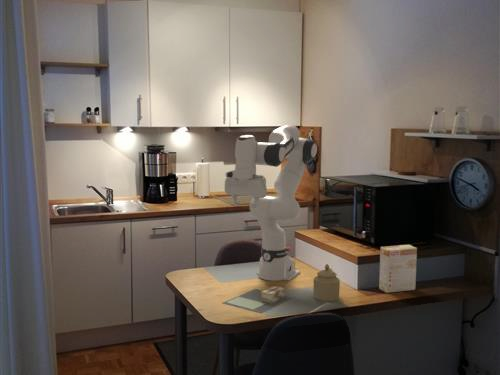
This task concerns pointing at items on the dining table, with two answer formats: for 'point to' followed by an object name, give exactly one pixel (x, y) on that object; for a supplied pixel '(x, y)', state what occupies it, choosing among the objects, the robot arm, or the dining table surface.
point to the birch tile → (272, 294)
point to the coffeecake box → (397, 268)
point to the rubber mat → (254, 301)
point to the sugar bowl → (326, 285)
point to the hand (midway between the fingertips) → (245, 206)
